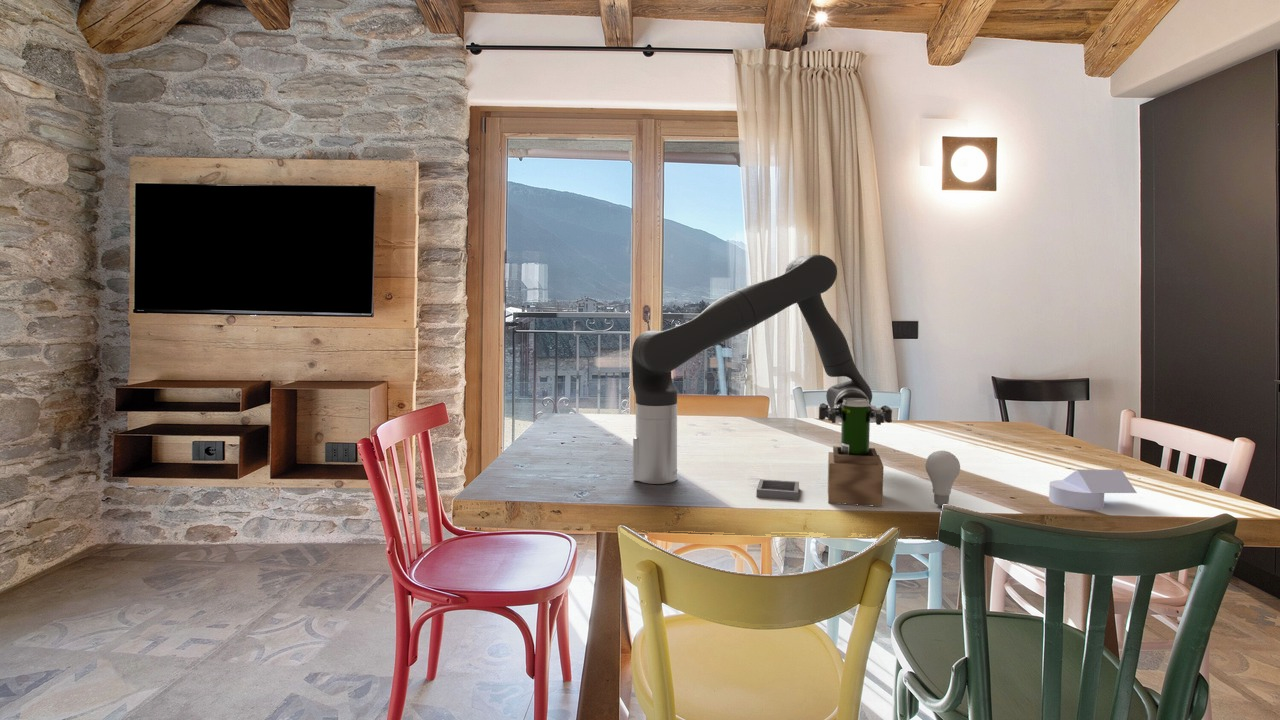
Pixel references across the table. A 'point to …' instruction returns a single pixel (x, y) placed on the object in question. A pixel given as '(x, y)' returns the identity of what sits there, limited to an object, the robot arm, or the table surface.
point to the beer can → (855, 427)
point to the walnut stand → (855, 478)
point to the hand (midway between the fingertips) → (856, 418)
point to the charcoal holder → (778, 493)
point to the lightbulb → (942, 474)
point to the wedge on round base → (1088, 488)
